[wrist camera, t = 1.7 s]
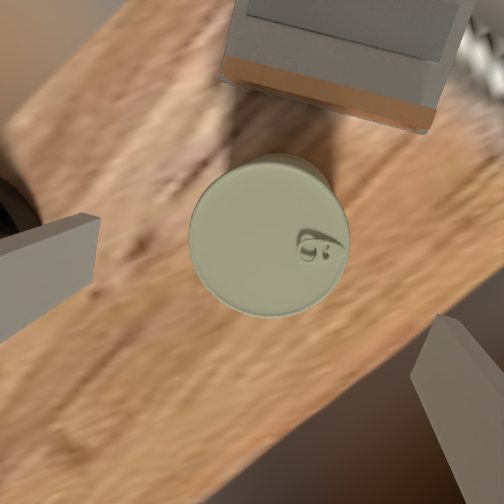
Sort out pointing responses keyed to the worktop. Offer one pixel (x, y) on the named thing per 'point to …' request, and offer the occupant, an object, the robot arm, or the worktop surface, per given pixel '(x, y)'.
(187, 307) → the worktop surface
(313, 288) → the can
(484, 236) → the worktop surface
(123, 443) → the worktop surface
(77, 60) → the worktop surface
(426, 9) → the rail holder
